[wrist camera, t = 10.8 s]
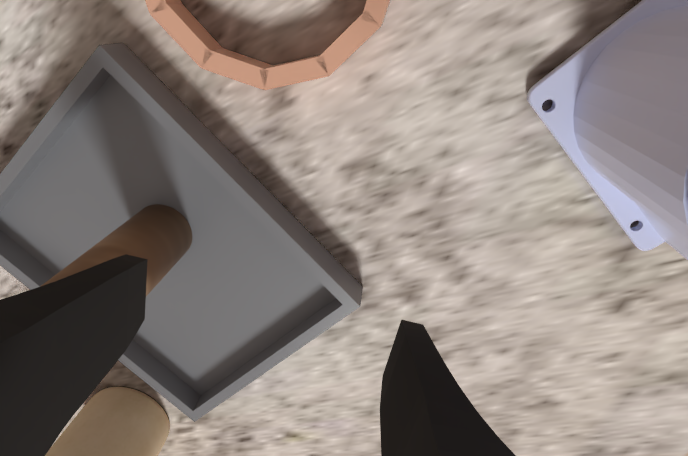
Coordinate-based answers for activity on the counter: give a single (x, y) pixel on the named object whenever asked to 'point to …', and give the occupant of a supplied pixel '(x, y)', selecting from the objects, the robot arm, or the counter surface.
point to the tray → (198, 209)
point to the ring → (253, 72)
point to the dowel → (141, 244)
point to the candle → (115, 426)
